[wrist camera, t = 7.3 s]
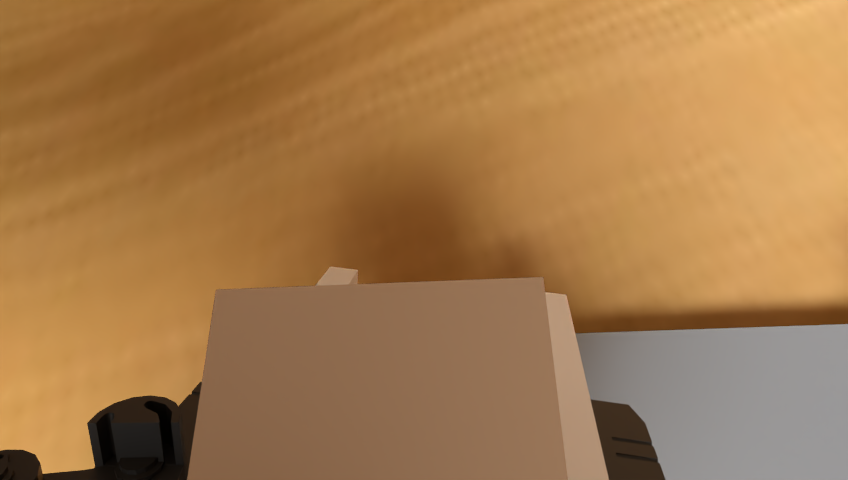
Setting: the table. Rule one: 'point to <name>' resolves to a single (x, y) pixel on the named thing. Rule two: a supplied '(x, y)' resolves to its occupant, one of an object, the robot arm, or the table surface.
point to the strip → (731, 398)
